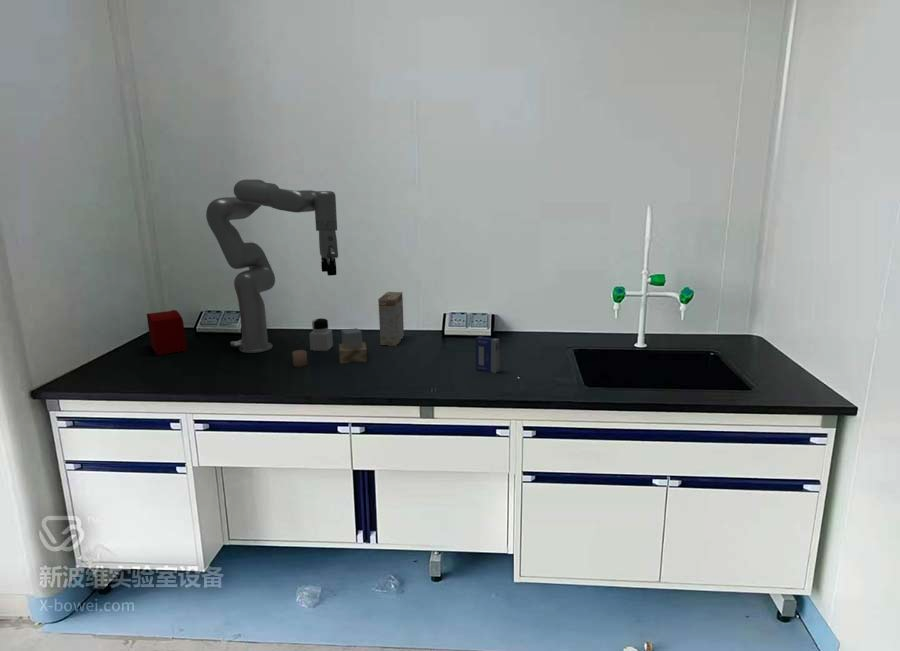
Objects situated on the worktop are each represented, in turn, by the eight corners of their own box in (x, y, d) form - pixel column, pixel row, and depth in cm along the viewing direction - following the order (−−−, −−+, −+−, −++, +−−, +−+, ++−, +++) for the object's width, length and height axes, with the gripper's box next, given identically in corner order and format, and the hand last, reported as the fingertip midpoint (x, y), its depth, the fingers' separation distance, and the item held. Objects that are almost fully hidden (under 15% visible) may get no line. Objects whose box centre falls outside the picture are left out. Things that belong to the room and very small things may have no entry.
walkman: (475, 370, 201) (475, 337, 198) (479, 367, 204) (479, 335, 201) (496, 373, 197) (496, 339, 194) (499, 371, 200) (499, 337, 197)
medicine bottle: (333, 346, 232) (331, 317, 229) (327, 351, 225) (325, 321, 223) (316, 345, 233) (314, 317, 230) (310, 350, 226) (308, 321, 223)
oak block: (339, 364, 210) (339, 351, 209) (339, 356, 220) (339, 343, 219) (367, 362, 212) (366, 349, 211) (366, 354, 222) (365, 342, 220)
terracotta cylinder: (294, 368, 206) (293, 354, 204) (292, 364, 210) (291, 351, 209) (308, 366, 208) (307, 352, 206) (306, 362, 212) (305, 349, 211)
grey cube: (346, 349, 211) (346, 333, 209) (342, 345, 216) (341, 330, 215) (362, 347, 214) (361, 331, 212) (357, 343, 219) (356, 328, 217)
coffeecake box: (388, 336, 247) (386, 291, 242) (404, 336, 246) (403, 291, 241) (379, 345, 232) (377, 298, 227) (396, 346, 231) (395, 299, 226)
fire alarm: (187, 351, 227) (182, 315, 223) (157, 356, 221) (152, 318, 217) (179, 342, 240) (175, 307, 236) (151, 347, 234) (146, 311, 230)
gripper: (342, 227, 200) (344, 276, 204) (331, 224, 216) (333, 269, 220) (320, 228, 197) (323, 277, 202) (311, 224, 213) (314, 270, 217)
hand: (329, 273), depth 211 cm, fingers open, 9 cm apart
